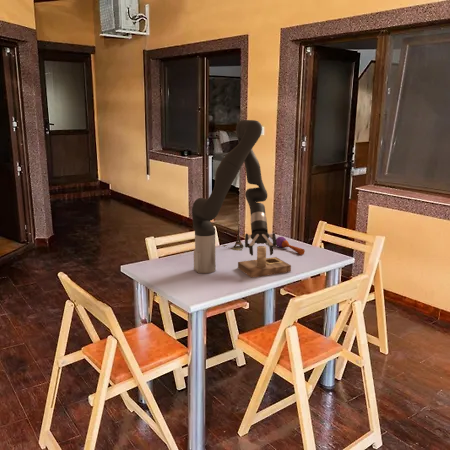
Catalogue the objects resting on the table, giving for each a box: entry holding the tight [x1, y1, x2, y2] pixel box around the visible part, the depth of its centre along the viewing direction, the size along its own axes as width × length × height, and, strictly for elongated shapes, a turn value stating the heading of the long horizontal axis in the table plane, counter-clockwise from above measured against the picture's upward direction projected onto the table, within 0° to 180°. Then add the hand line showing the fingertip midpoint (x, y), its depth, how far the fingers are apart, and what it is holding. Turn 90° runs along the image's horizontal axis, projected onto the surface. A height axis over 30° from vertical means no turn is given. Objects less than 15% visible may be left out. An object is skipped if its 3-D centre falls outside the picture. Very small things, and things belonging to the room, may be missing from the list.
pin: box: [256, 245, 267, 268], centre depth 214 cm, size 4×4×9 cm
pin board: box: [237, 256, 292, 279], centre depth 219 cm, size 20×14×3 cm
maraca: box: [276, 236, 306, 256], centre depth 251 cm, size 6×6×20 cm
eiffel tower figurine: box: [222, 223, 245, 252], centre depth 255 cm, size 15×10×13 cm
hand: (261, 254), depth 214 cm, fingers open, 8 cm apart
